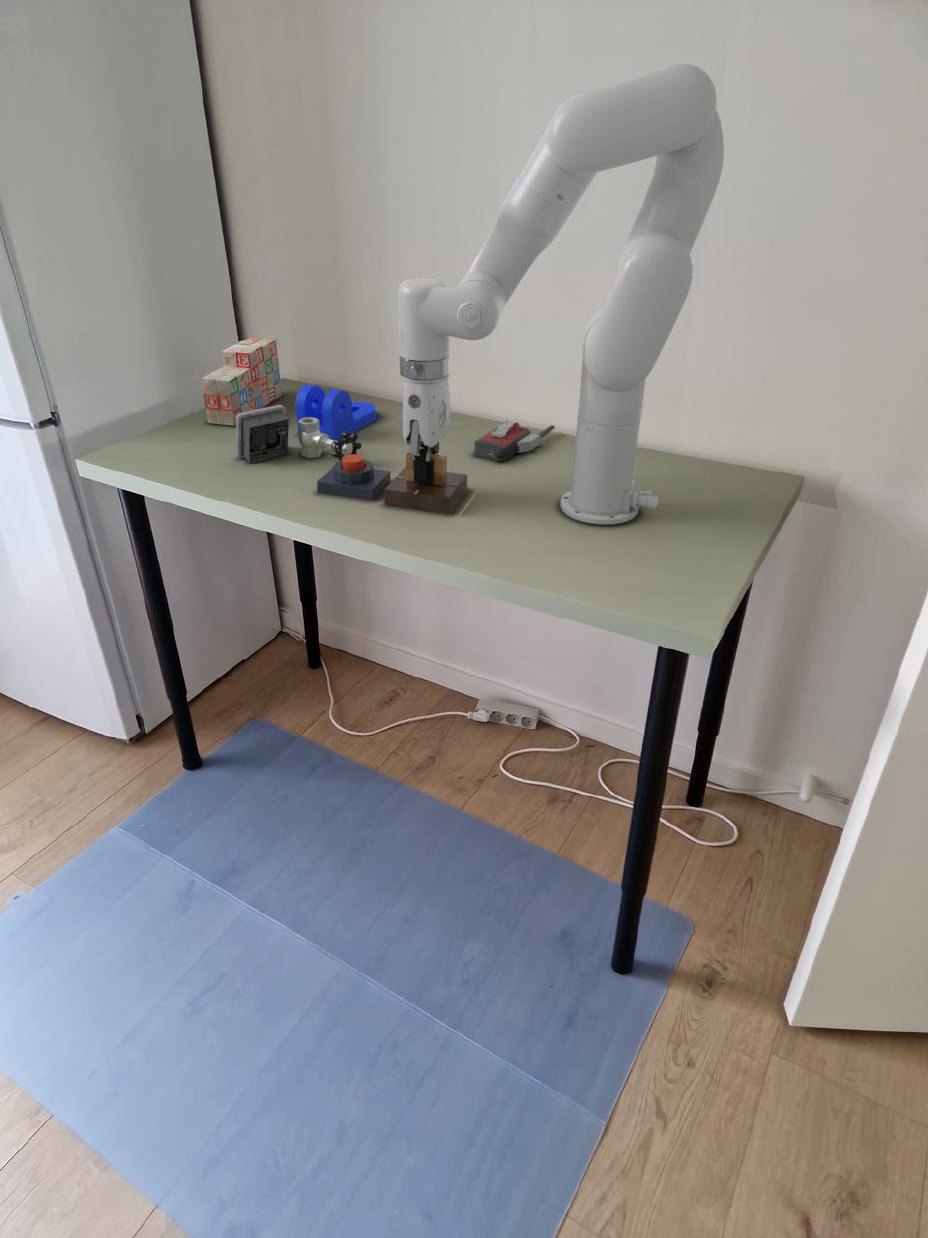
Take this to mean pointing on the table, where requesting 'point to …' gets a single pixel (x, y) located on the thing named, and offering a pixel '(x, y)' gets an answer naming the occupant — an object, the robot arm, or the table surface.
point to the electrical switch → (262, 433)
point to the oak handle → (438, 469)
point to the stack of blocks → (242, 381)
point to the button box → (354, 482)
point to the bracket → (333, 410)
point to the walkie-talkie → (507, 441)
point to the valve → (323, 440)
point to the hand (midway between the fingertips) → (426, 479)
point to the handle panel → (426, 493)
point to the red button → (353, 462)
